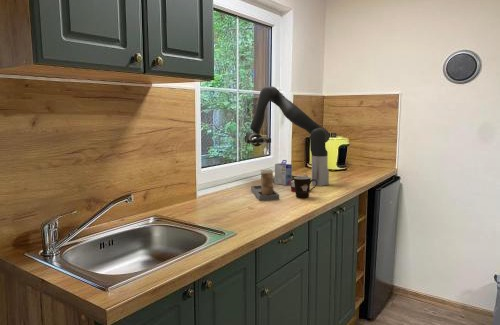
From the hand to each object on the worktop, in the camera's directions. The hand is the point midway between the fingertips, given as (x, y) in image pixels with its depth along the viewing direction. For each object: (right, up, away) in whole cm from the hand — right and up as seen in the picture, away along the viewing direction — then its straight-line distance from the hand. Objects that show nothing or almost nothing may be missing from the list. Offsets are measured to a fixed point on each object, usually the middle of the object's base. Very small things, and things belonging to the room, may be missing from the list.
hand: (260, 141), depth 210 cm
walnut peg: (+3, -30, -23) cm, 37 cm away
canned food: (+21, -28, -7) cm, 36 cm away
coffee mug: (+22, -30, -23) cm, 43 cm away
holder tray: (+1, -29, -15) cm, 32 cm away
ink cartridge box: (+14, -25, +14) cm, 32 cm away
